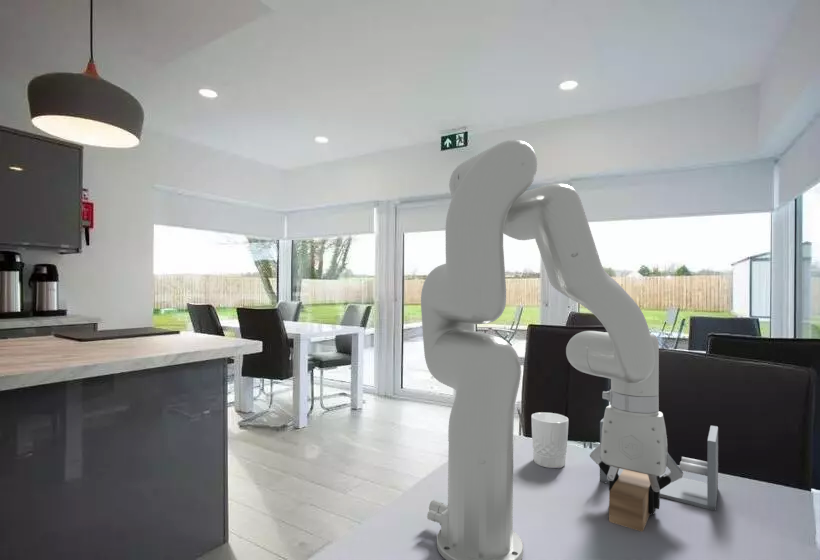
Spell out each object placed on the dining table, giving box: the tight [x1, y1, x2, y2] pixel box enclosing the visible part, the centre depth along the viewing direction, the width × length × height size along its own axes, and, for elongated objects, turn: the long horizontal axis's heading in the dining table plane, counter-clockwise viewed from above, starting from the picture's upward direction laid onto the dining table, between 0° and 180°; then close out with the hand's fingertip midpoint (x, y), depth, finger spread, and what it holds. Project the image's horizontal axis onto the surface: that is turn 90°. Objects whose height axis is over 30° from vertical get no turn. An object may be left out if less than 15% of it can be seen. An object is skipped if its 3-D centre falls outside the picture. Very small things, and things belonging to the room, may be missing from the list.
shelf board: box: [608, 469, 651, 533], centre depth 78 cm, size 14×5×5 cm, turn 143°
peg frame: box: [599, 417, 719, 511], centre depth 88 cm, size 19×11×12 cm, turn 54°
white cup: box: [530, 411, 569, 469], centre depth 99 cm, size 8×8×10 cm
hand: (633, 505), depth 78 cm, fingers closed on shelf board, 5 cm apart
